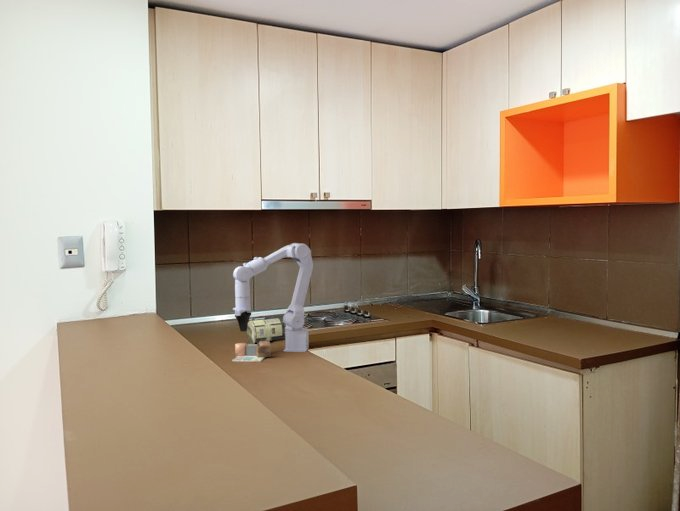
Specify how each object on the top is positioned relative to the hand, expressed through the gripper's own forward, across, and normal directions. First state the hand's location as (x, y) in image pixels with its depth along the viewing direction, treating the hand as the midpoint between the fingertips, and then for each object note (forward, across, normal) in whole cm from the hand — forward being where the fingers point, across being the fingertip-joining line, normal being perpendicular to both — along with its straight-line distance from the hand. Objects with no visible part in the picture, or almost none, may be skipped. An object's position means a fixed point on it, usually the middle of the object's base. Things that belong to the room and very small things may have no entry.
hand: (243, 331), depth 214 cm
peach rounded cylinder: (+9, -3, +8) cm, 12 cm away
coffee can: (+5, -22, -4) cm, 22 cm away
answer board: (+10, +2, +4) cm, 11 cm away
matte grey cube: (+9, 0, +4) cm, 10 cm away
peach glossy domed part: (+9, +1, -1) cm, 10 cm away
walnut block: (+9, +2, +8) cm, 13 cm away
